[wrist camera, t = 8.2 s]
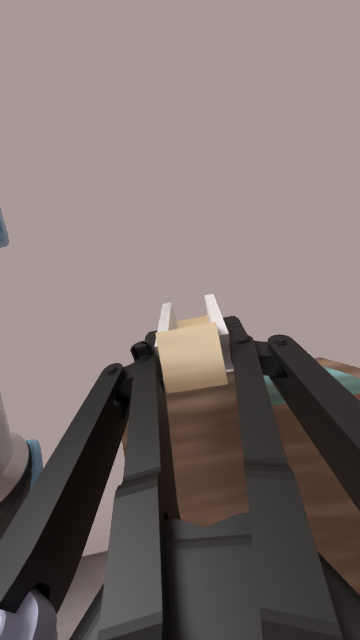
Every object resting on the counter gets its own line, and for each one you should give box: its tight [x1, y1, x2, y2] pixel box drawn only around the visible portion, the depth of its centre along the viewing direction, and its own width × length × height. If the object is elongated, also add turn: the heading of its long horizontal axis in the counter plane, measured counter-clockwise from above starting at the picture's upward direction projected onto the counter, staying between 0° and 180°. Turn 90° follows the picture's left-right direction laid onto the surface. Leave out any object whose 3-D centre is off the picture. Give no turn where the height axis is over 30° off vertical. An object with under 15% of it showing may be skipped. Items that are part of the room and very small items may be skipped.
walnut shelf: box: [122, 358, 360, 595], centre depth 24 cm, size 14×26×29 cm, turn 84°
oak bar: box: [155, 315, 228, 394], centre depth 20 cm, size 21×6×4 cm, turn 174°
